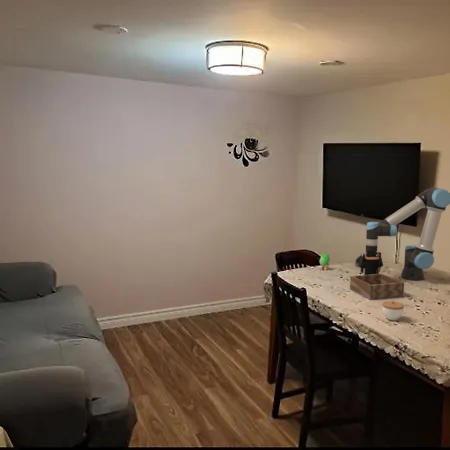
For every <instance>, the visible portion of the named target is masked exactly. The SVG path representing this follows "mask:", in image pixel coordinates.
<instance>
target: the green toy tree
mask: <svg viewBox="0 0 450 450" xmlns="http://www.w3.org/2000/svg"><path fill="white" fill-rule="evenodd" d="M330 259H331V258H330V255H329V254H328V253H323V254H322V255H321V257H320V258H319V264H320V265H319V268H320V270H319V271H322V270H323V272H324V271H325V272H326V271H327V269H328V270H330Z"/></svg>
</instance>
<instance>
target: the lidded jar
mask: <svg viewBox="0 0 450 450" xmlns="http://www.w3.org/2000/svg"><path fill="white" fill-rule="evenodd" d="M381 305H382V306H381V307H382V308H381V309H382V314H383V316H384V317H386V318H385V319H387V320H390V321H399V320H400V318H401V317H402V316H403V313H404V307H405V306H404V304H403V303H401V302H398V301H394V300H387V301H383V302H382V304H381Z"/></svg>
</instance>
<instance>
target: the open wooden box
mask: <svg viewBox="0 0 450 450" xmlns="http://www.w3.org/2000/svg"><path fill="white" fill-rule="evenodd" d="M349 290H350V291H352V292H354V293H355V294H358V295H360V296H361V297H364V298H365V299H367V300H369V301H375V300H382V299H383V300H385V299H394V298H403V297H404V293H405V282H403V281H401V280H398V279H397V278H396V279H395V278H393V277H391V276H388V275H386V274H383V273H379V274H371V275H359V274H358V275H351V276H350V281H349Z"/></svg>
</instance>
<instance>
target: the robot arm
mask: <svg viewBox="0 0 450 450" xmlns="http://www.w3.org/2000/svg"><path fill="white" fill-rule="evenodd" d="M449 205H450V192H449V191H448V190H447V189H444V188H438V187H430V188H427V189H426V190H424V191H423V192H421V193H419V194H418V195H416V196H415V198H414V199H413V200H412V201H410V202H409V203H407V204H405V205H404V206H403V207H401V208H400V209H398V210H396V211H395V212H394V213H392V214H390V215H389V216H387V217H386V218H384V219H383V220H381V221H368V222H367V223H366V229H365V230H366V233H365V234H366V235H365V252H362V253H360V254H361V259H360V262H359V265H358V267H357V268H359V269H360V273H361V275H365V268H364V267H365V263H364V262H363V261H364V258H365V255H366V257H376V256H378V257H379V273H380V272H381V268H382V267H384V263H383V262H384V261H383V259H382V252H380V251H378V247H379V246H378V245H379V237H396V236H397V234H398V228H397V225H398V224H401V222H403V221H404V220H406V219H408V218H409V217H410V216H412V215H413V214H415V213H417V212H418V211H419V210H421V209H425V208H426V209H427V212H426V216H425V219H424V223H423V227H422V230H421V235H420V239H419V242H418V244H415V245H413V244H412V245H406V246H405V249H404V263H403V264H404V266H403V268H402V271H401V273H400V277H401V279H404V280H409V281H423V280H425V273H424V270H428V269H429V268H431V267H432V266H433V264H434V263H435V258H434V252H435V251H434V248H433V246H434V243H435V239H436V236H437V232H438V228H439V224H440V220H441V218H442V215H443V214H442V213H444V212H445V211H446V210H447V206H449Z"/></svg>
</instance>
